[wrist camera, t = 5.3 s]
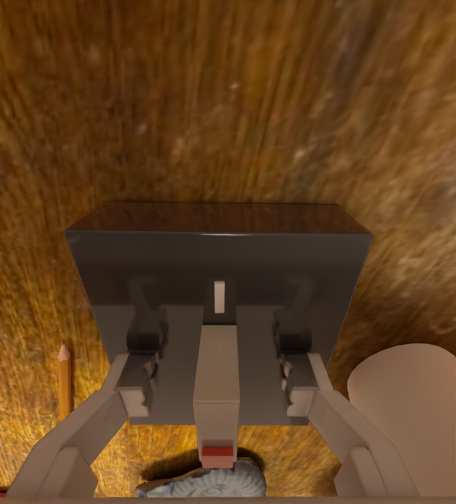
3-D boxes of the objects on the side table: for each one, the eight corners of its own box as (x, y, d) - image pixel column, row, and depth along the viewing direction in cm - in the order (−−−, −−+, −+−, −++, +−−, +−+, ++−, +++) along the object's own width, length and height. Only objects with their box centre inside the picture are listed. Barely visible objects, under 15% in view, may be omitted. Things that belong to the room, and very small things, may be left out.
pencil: (73, 467, 23) (68, 478, 23) (65, 466, 23) (60, 477, 22) (73, 335, 14) (66, 346, 14) (61, 332, 14) (52, 344, 13)
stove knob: (201, 324, 10) (191, 411, 7) (236, 324, 10) (240, 411, 7) (205, 384, 12) (198, 470, 9) (234, 384, 12) (236, 470, 9)
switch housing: (103, 200, 10) (57, 232, 8) (338, 204, 10) (378, 237, 8) (146, 375, 16) (129, 428, 14) (295, 376, 16) (308, 429, 14)
